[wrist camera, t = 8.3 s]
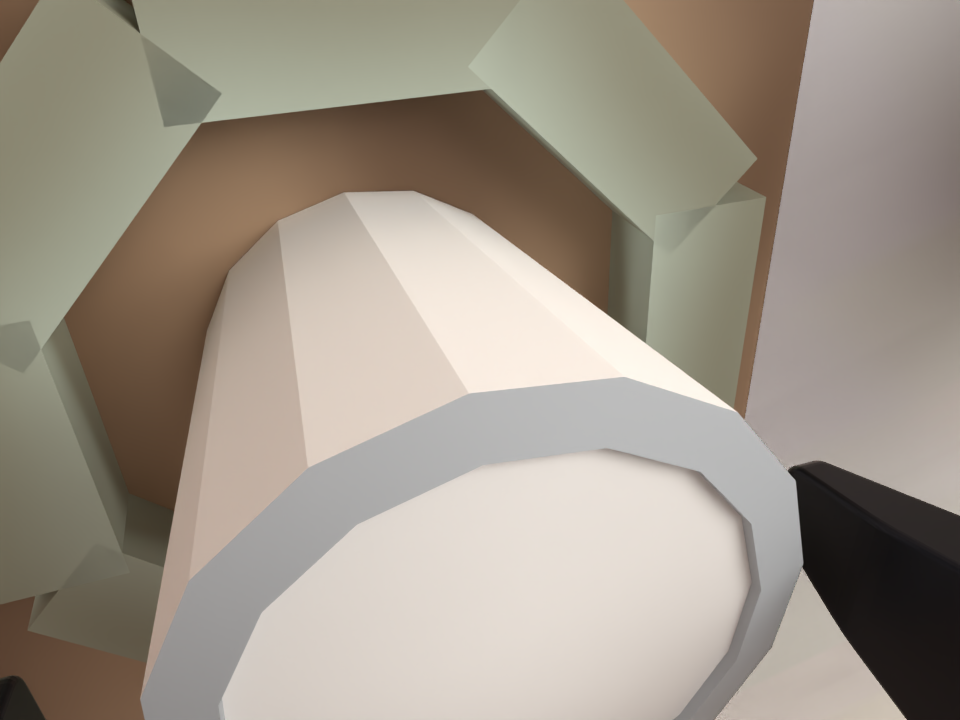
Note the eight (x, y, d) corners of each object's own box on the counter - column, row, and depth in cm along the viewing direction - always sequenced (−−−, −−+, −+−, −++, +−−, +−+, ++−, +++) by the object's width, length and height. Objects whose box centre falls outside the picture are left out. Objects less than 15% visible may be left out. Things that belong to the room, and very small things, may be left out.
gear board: (787, -143, 13) (995, -160, 9) (667, 733, 25) (738, 857, 22) (-402, -87, 9) (-756, -83, 6) (152, 910, 21) (144, 1092, 18)
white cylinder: (96, 202, 11) (-15, 539, 5) (548, 109, 12) (859, 293, 6) (234, 544, 15) (261, 962, 9) (569, 444, 16) (780, 749, 10)
